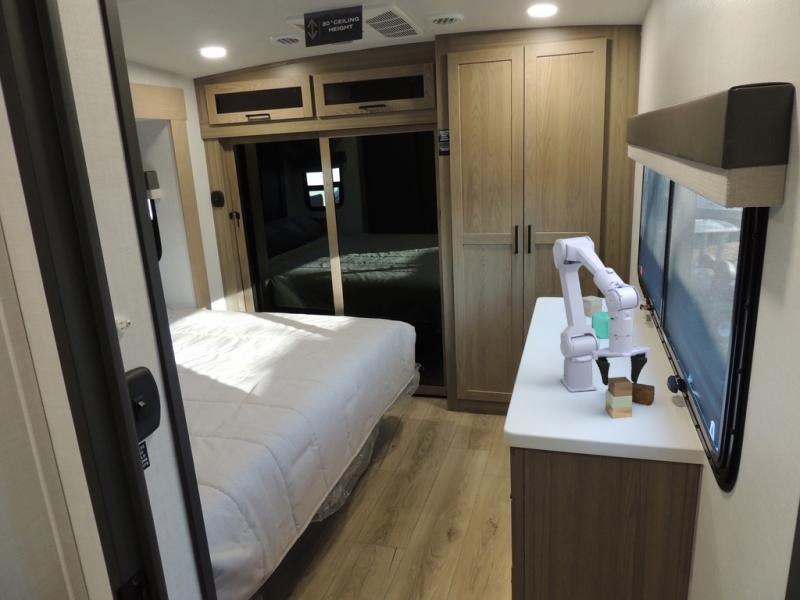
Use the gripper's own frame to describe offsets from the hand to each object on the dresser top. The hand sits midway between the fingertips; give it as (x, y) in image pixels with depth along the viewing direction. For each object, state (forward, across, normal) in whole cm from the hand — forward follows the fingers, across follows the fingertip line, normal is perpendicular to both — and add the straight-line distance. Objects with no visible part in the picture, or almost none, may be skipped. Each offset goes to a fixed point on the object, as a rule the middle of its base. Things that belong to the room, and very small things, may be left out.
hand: (619, 382), depth 153 cm
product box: (+9, +25, +88) cm, 92 cm away
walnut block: (+3, 0, 0) cm, 3 cm away
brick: (+9, +7, +7) cm, 13 cm away
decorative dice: (+9, +20, +62) cm, 66 cm away
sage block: (+6, 0, 0) cm, 6 cm away
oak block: (+9, 0, 0) cm, 9 cm away
